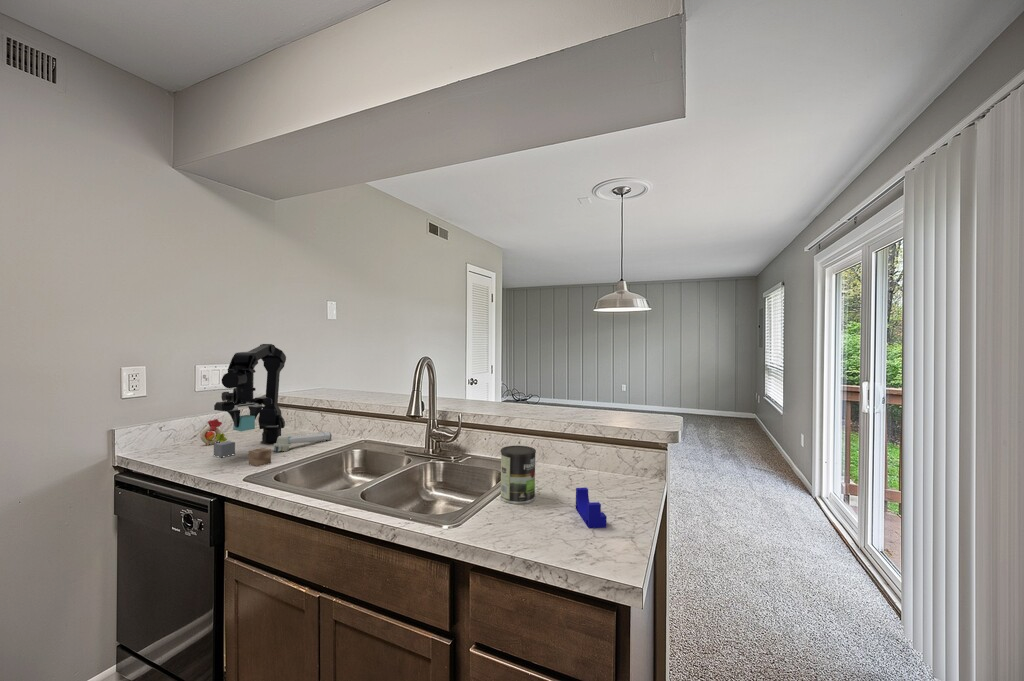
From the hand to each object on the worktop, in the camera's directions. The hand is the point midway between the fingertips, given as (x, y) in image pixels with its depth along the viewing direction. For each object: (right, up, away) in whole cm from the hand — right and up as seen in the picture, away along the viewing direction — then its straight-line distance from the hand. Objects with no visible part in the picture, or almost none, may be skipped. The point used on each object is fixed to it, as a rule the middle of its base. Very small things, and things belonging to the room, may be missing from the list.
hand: (244, 426), depth 160 cm
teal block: (0, -1, 0) cm, 1 cm away
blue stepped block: (+123, -14, -51) cm, 134 cm away
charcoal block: (-9, -12, +2) cm, 15 cm away
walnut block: (+11, -12, -8) cm, 18 cm away
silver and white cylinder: (+13, -13, +19) cm, 26 cm away
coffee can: (+104, -14, -37) cm, 111 cm away
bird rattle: (-25, -12, +19) cm, 34 cm away
